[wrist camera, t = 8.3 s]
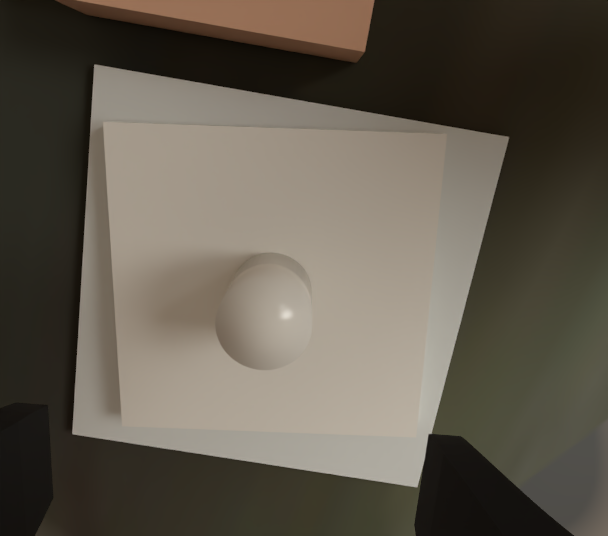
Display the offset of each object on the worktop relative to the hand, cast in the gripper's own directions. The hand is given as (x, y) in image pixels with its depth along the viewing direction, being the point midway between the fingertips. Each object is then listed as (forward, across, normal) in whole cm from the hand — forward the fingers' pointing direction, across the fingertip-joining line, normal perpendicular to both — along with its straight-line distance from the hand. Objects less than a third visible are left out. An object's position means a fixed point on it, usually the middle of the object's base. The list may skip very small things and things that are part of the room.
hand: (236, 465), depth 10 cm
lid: (+10, 0, -1) cm, 10 cm away
